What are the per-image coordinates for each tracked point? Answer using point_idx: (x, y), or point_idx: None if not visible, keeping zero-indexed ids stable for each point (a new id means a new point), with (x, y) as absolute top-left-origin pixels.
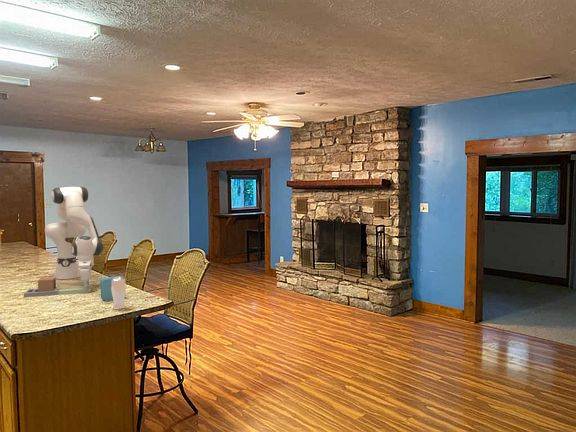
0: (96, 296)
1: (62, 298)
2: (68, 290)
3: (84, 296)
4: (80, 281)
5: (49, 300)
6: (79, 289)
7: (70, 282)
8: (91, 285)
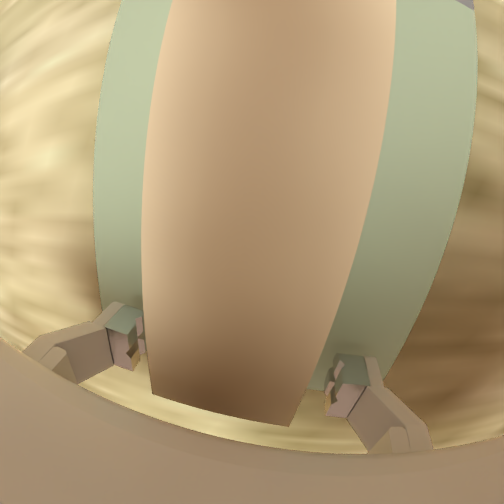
0: (11, 312)
1: (2, 81)
2: (104, 72)
3: (9, 245)
4: (150, 314)
5: (5, 14)
6: (105, 224)
7: (162, 51)
8: (321, 388)
